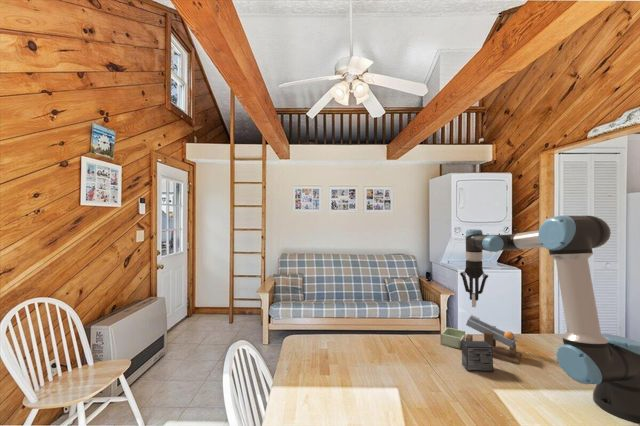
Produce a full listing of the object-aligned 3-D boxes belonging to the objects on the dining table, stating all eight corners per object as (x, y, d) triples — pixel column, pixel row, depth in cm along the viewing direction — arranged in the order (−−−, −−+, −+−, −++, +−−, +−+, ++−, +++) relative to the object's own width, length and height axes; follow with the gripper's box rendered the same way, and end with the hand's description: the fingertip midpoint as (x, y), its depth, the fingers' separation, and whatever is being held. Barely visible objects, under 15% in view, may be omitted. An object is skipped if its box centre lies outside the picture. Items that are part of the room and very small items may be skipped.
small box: (486, 364, 131) (486, 340, 131) (493, 372, 124) (493, 347, 124) (461, 363, 132) (461, 339, 132) (466, 371, 125) (466, 346, 125)
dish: (460, 349, 145) (459, 338, 145) (440, 344, 151) (440, 333, 151) (465, 341, 154) (465, 331, 154) (446, 337, 160) (446, 327, 160)
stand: (518, 363, 131) (518, 339, 131) (461, 349, 145) (460, 327, 145) (520, 354, 140) (520, 331, 140) (466, 341, 154) (466, 320, 154)
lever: (512, 348, 134) (516, 340, 133) (464, 324, 146) (467, 316, 145) (515, 338, 145) (518, 330, 144) (470, 316, 157) (473, 309, 156)
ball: (512, 343, 135) (514, 335, 135) (502, 339, 138) (504, 331, 137) (513, 340, 138) (515, 332, 138) (503, 336, 141) (505, 328, 140)
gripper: (489, 260, 152) (489, 307, 153) (461, 257, 160) (461, 302, 161) (487, 262, 146) (487, 311, 147) (458, 259, 154) (458, 306, 155)
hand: (474, 306), depth 154 cm, fingers closed
